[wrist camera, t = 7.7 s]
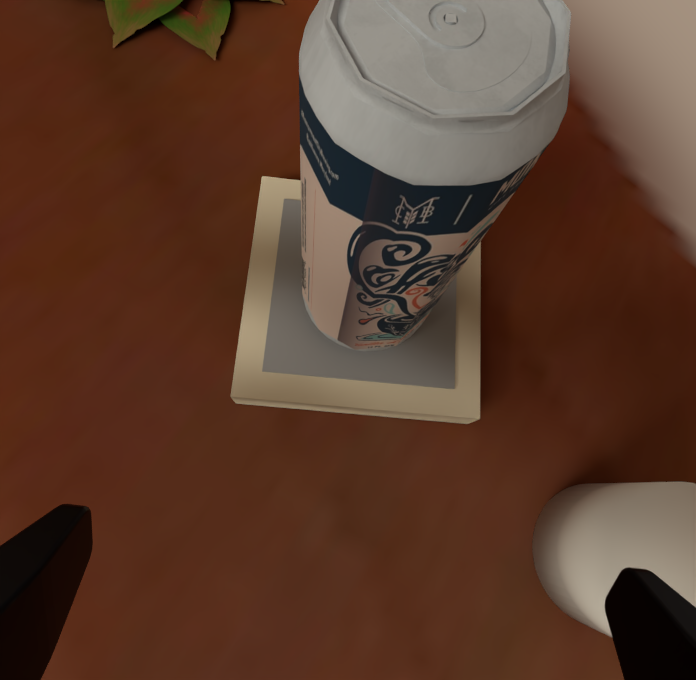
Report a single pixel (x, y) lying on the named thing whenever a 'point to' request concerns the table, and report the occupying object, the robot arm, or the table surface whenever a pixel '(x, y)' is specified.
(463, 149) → the beer can
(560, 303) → the table surface
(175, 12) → the lily flower
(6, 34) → the table surface
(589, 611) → the white rounded cylinder
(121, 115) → the table surface
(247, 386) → the stand
